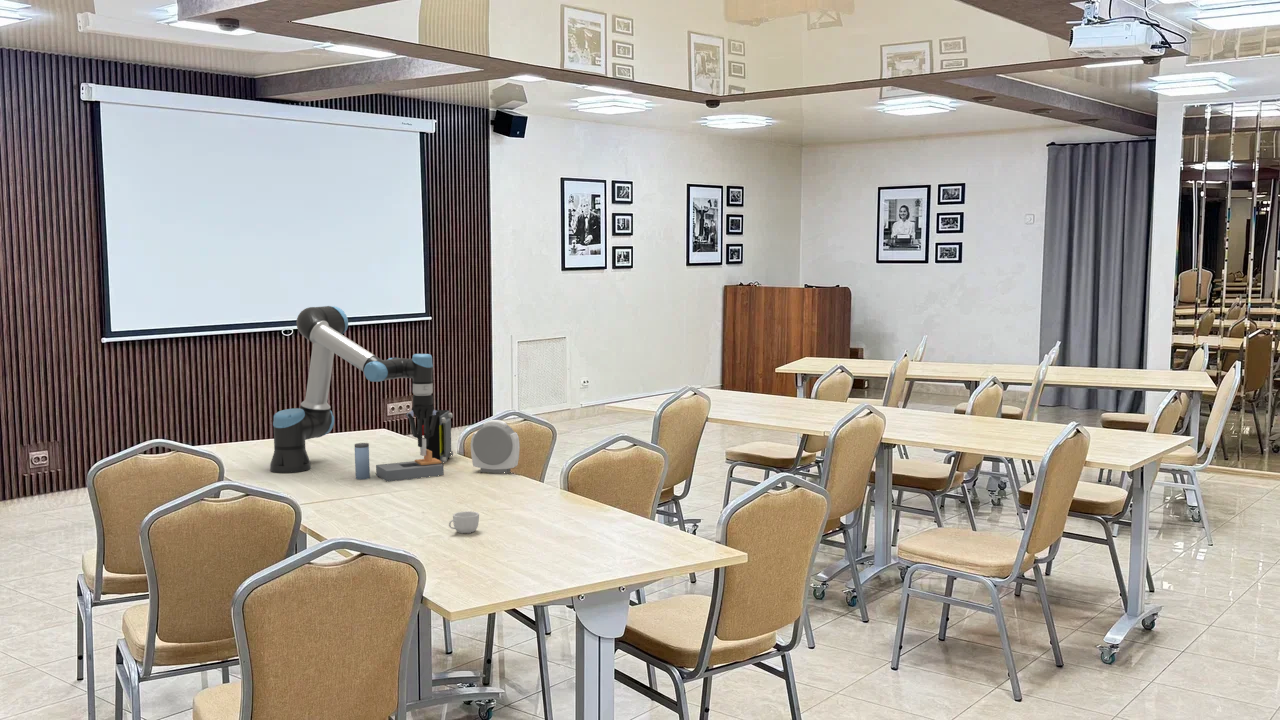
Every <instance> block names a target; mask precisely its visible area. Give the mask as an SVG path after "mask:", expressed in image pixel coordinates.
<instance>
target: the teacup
mask: <svg viewBox="0 0 1280 720" xmlns="http://www.w3.org/2000/svg"><path fill="white" fill-rule="evenodd" d="M479 519H480V513H479V512H477V511H472V510H471V511H458V512H455V513H452V519H450V521H449V522H448V527H449V528H450V529H452V530H455V531H456V532H458V533H459V534H463V533H467V534H472V533H474V532H475V531H476V530H477V529H478V528H479ZM452 522H453V523H452ZM451 523H452V524H453V526H452V525H451ZM471 532H472V533H471Z"/></svg>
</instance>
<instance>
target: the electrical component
mask: <svg viewBox="0 0 1280 720" xmlns="http://www.w3.org/2000/svg"><path fill="white" fill-rule="evenodd" d="M435 410H436V411H438V412H440V414H439V416H438V417H437V421H436V426H435V430H434V435H433V436H431V437H430V438H429V445H428V446H427V447H426V449H428V450H430V451H432V458H436V459H438V460H440V461H442V463H443V462H444V463H447V460H449V459H448V457H450V458H451V457H453V456H454V451H453V450H452V420H451V419H453V417H454V414H453V413H452V412H450V410H448V409H435ZM432 413H433V412H432ZM432 416H433V415H432V414H431V415H430V417H429V429H430V424H431V420H432ZM422 437H424V420H423V421H422ZM450 452H451V453H450ZM451 455H452V456H451ZM442 463H440V464H442ZM444 463H443V464H444ZM443 464H442V465H443Z"/></svg>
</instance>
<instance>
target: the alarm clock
mask: <svg viewBox="0 0 1280 720" xmlns="http://www.w3.org/2000/svg"><path fill="white" fill-rule="evenodd" d="M520 447H521V446H520V437H519V435H518V433H517V432H515V431H514V429H513V428H512V427H511V426H510V425H508V424H507V422H505V421H503V420H501V419H490V420H488V421H485V422H484V423H483V424H482V427H481V428H479V429H478V430H477V431H475V432H473V434H472V436H471V439H470V454H471V455H470V456H471V461H472V467H474V468H479V469H480V471H479V472H493V473H492V474H501V473H504V472H505V474H506V475H507V474H509V473H510V472H511V469H513V468H515V467H517V466H518V464H519V459H520Z"/></svg>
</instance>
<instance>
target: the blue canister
mask: <svg viewBox="0 0 1280 720" xmlns="http://www.w3.org/2000/svg"><path fill="white" fill-rule="evenodd" d="M354 466H355V467H354V469H355V470H354V471H355V473H354V474H355V479H356V480H368V479H370V478H371V473H370V469H371V468H370V444H369V443H368V442H358V443H354Z"/></svg>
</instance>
